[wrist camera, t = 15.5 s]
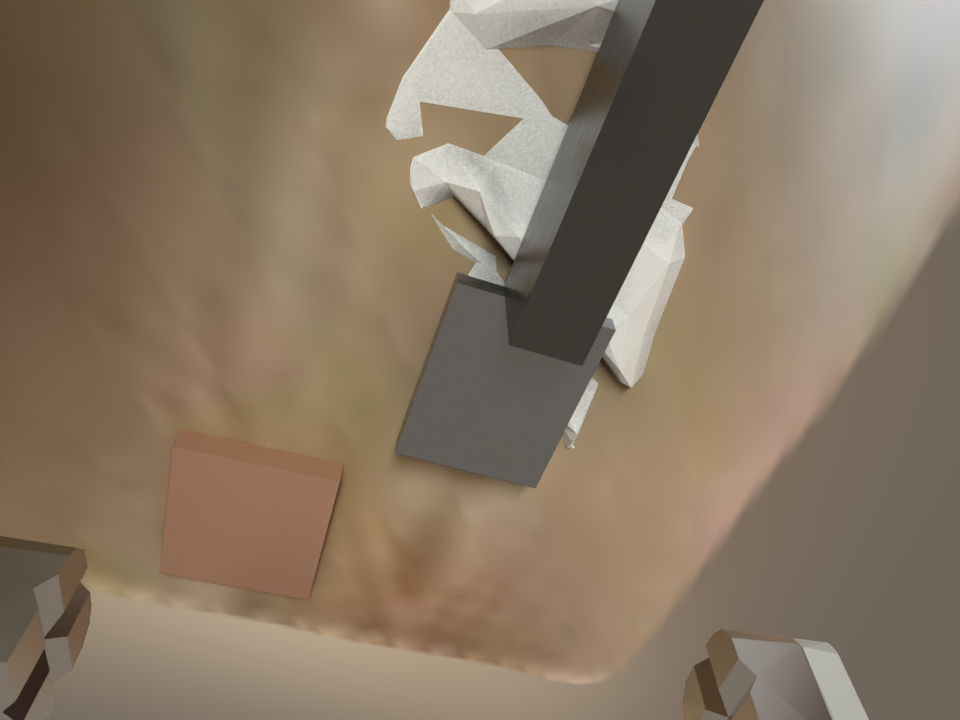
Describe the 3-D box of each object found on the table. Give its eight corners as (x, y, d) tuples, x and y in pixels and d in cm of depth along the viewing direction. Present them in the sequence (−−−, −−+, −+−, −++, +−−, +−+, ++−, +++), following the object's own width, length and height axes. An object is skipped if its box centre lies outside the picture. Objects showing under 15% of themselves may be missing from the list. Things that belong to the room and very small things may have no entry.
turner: (593, -104, 21) (617, -98, 17) (784, -25, 22) (841, -6, 19) (396, 440, 31) (388, 509, 28) (534, 475, 32) (541, 546, 29)
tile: (172, 447, 31) (159, 572, 36) (340, 481, 33) (308, 600, 37) (184, 422, 33) (170, 547, 37) (344, 457, 34) (313, 574, 38)
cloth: (473, -430, 19) (474, -464, 17) (961, -259, 21) (1010, -271, 19) (330, 397, 33) (321, 430, 31) (632, 454, 35) (642, 489, 33)
